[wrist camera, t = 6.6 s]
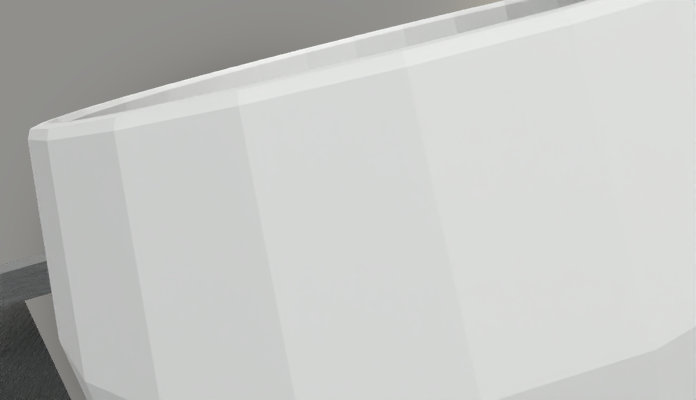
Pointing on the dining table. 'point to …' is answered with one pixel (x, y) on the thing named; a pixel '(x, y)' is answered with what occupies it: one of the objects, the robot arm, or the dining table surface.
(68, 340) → the cup
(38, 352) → the grey open storage bin
